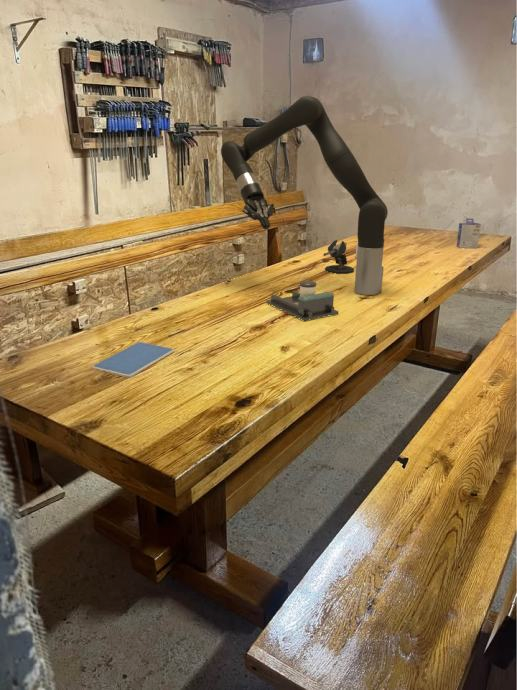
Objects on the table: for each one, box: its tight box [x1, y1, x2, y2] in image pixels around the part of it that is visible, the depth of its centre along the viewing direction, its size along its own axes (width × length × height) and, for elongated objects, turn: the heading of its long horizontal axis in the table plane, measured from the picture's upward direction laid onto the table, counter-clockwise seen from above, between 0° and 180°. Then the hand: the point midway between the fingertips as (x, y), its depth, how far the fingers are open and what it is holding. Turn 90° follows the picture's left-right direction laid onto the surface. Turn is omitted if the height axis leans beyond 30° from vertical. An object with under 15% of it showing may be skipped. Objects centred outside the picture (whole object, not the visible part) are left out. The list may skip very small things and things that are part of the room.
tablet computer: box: [91, 341, 175, 379], centre depth 141 cm, size 19×13×1 cm, turn 153°
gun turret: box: [322, 239, 355, 275], centre depth 228 cm, size 13×20×13 cm, turn 146°
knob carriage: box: [294, 280, 317, 305], centre depth 178 cm, size 7×6×8 cm
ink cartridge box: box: [456, 218, 482, 249], centre depth 279 cm, size 10×6×14 cm, turn 89°
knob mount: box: [266, 290, 340, 321], centre depth 181 cm, size 14×22×7 cm, turn 32°
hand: (267, 227), depth 191 cm, fingers closed
